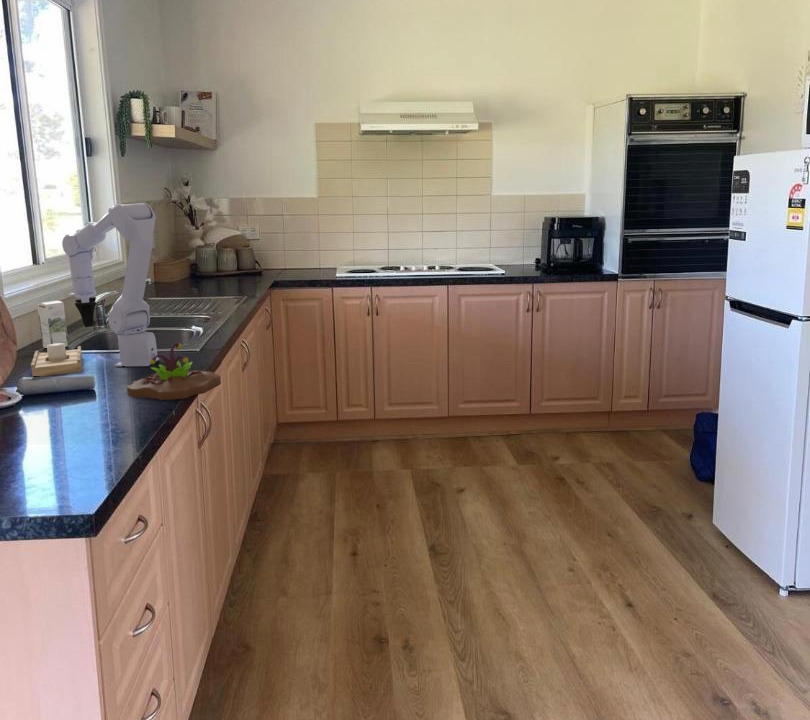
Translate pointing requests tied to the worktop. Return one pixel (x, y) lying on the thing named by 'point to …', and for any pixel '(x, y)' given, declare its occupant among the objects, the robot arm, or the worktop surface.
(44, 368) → the jig plate
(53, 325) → the syrup box
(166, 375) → the plant
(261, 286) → the worktop surface
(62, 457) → the worktop surface
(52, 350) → the cream small block
